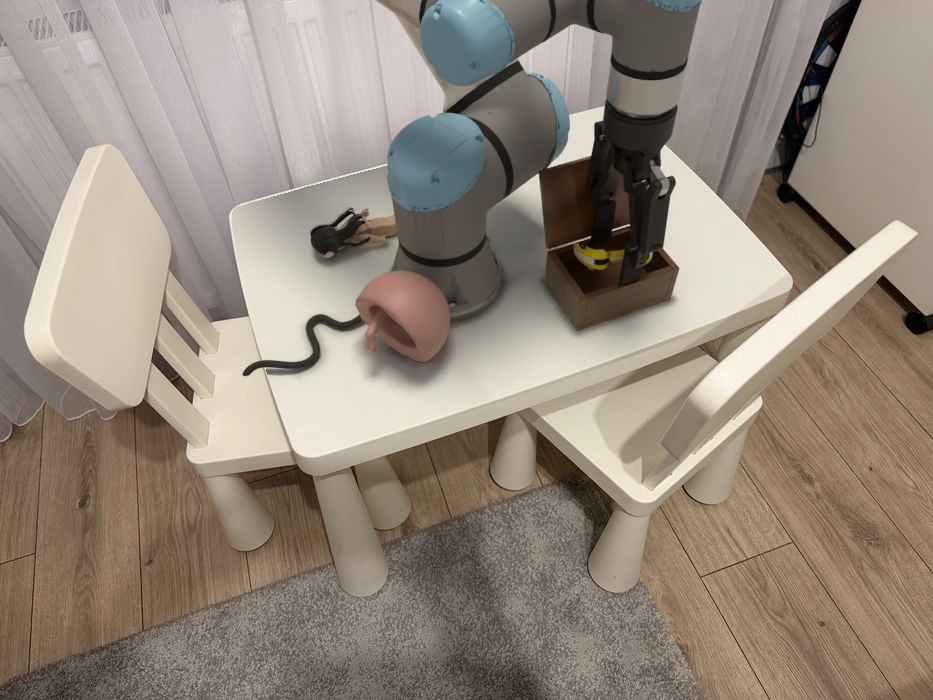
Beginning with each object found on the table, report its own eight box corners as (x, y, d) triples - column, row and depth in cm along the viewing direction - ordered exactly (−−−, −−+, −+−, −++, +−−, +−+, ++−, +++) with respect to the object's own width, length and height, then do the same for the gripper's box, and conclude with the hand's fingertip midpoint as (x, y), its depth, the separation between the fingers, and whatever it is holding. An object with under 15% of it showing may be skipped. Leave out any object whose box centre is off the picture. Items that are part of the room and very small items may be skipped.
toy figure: (393, 208, 107) (305, 242, 102) (392, 178, 101) (299, 211, 96) (416, 238, 103) (325, 274, 98) (416, 208, 98) (320, 244, 93)
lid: (642, 143, 87) (638, 141, 87) (541, 172, 84) (538, 170, 84) (642, 220, 93) (639, 218, 93) (548, 249, 90) (545, 247, 90)
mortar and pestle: (479, 347, 82) (402, 400, 83) (451, 305, 92) (382, 353, 92) (429, 275, 75) (345, 333, 76) (405, 238, 85) (330, 289, 86)
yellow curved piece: (584, 280, 85) (584, 254, 84) (573, 262, 91) (573, 238, 89) (661, 271, 86) (663, 245, 84) (646, 254, 91) (646, 229, 90)
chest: (670, 298, 92) (679, 268, 88) (577, 331, 89) (581, 301, 85) (633, 253, 98) (640, 221, 93) (544, 282, 95) (546, 251, 90)
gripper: (729, 141, 66) (681, 302, 83) (625, 49, 78) (602, 208, 95) (662, 161, 64) (628, 321, 82) (566, 64, 76) (554, 222, 94)
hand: (614, 260), depth 89 cm, fingers closed on yellow curved piece, 7 cm apart
